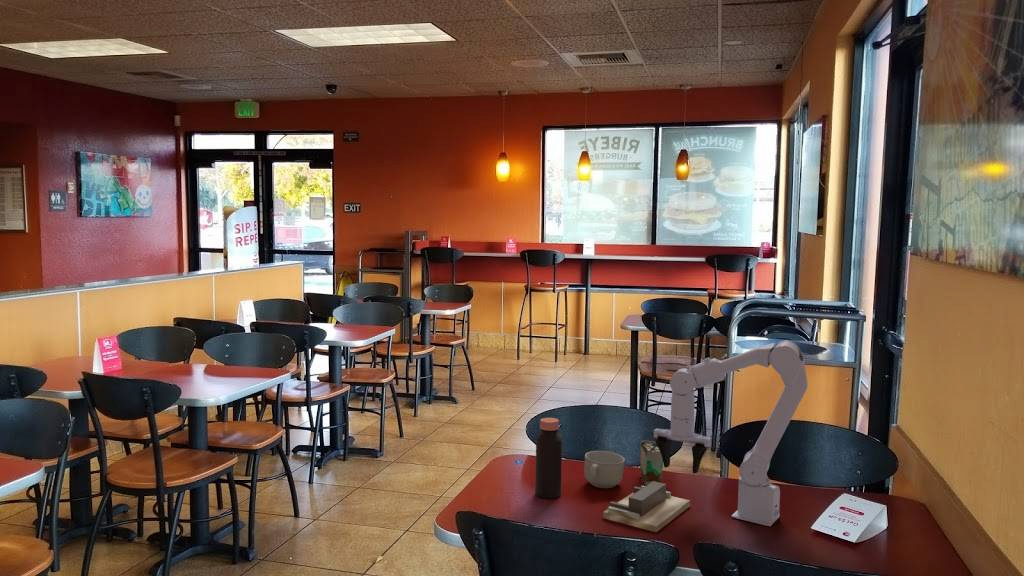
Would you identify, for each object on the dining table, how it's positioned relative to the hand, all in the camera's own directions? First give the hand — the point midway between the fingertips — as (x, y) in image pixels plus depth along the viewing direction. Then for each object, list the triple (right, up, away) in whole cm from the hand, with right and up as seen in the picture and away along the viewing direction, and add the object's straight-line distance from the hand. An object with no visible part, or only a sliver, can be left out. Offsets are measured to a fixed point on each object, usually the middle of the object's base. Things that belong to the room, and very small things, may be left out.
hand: (681, 469), depth 194 cm
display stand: (-9, -10, -4) cm, 14 cm away
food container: (-4, -8, +18) cm, 20 cm away
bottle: (-33, -8, +7) cm, 35 cm away
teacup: (-19, -8, +14) cm, 24 cm away
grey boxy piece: (-11, -8, -3) cm, 14 cm away
